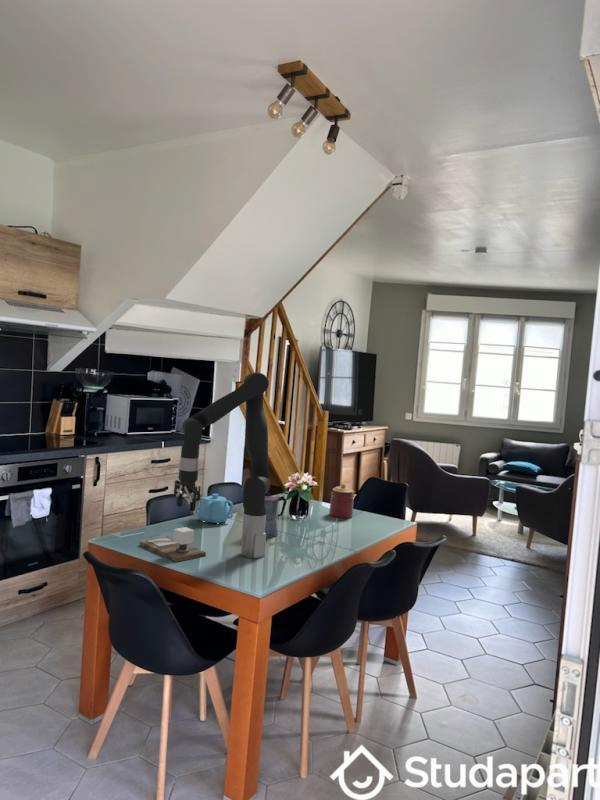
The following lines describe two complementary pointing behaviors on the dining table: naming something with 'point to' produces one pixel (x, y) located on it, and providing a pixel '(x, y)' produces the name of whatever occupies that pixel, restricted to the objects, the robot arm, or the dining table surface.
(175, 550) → the post board
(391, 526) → the dining table surface
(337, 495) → the canister
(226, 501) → the decorative pot
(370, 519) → the dining table surface
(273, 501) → the moka pot
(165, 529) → the dining table surface
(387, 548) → the dining table surface
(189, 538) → the white cube
